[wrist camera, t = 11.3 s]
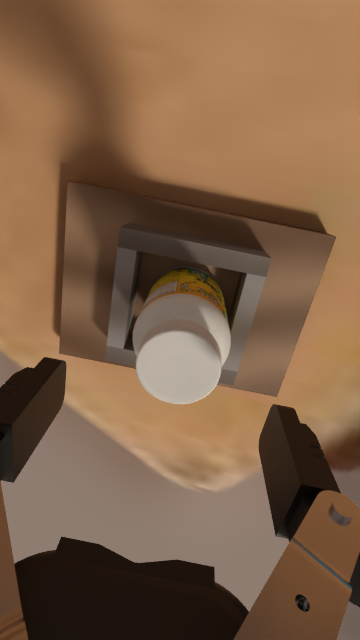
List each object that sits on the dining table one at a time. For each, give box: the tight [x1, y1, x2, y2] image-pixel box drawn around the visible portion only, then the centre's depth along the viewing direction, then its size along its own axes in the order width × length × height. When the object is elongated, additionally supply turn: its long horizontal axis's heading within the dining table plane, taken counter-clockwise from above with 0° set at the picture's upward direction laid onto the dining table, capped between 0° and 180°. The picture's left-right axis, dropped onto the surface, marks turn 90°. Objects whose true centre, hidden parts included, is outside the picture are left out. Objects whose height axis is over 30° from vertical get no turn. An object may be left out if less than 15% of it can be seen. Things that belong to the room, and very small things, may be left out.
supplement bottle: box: [133, 266, 231, 404], centre depth 19 cm, size 5×5×10 cm
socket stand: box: [59, 182, 336, 397], centre depth 23 cm, size 13×18×4 cm
